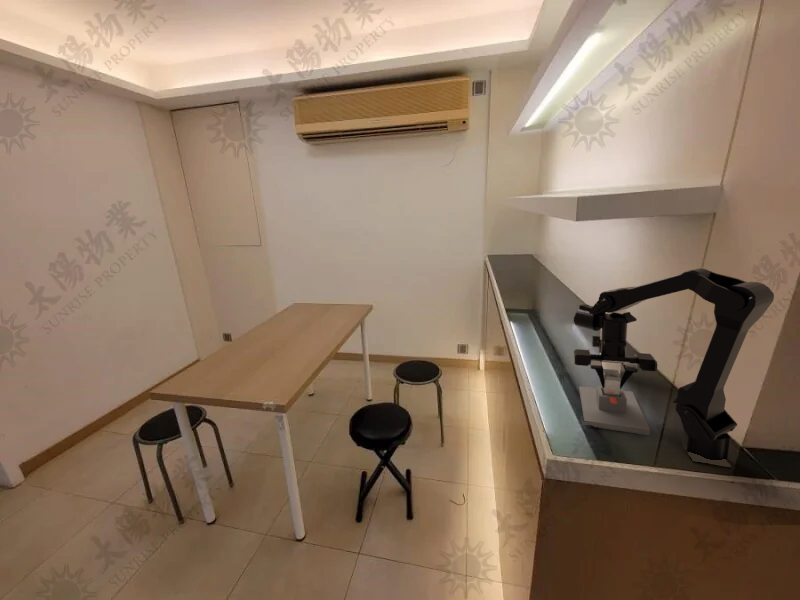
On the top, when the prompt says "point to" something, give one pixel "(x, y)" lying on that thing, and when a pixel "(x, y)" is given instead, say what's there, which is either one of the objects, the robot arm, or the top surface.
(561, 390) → the top surface
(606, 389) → the grey-brown stepped block
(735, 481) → the top surface
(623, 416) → the jack stand base
